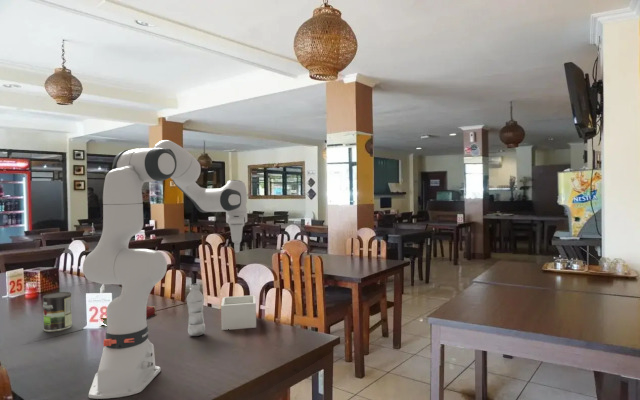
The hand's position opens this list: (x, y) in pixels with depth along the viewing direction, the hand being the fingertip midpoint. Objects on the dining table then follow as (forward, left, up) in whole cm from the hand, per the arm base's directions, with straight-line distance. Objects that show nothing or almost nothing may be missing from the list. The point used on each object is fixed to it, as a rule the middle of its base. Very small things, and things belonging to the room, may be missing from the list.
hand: (237, 250), depth 175 cm
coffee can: (+13, +76, -31) cm, 83 cm away
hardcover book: (+18, +49, -32) cm, 61 cm away
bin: (0, 0, -31) cm, 31 cm away
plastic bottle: (-11, +16, -31) cm, 37 cm away
